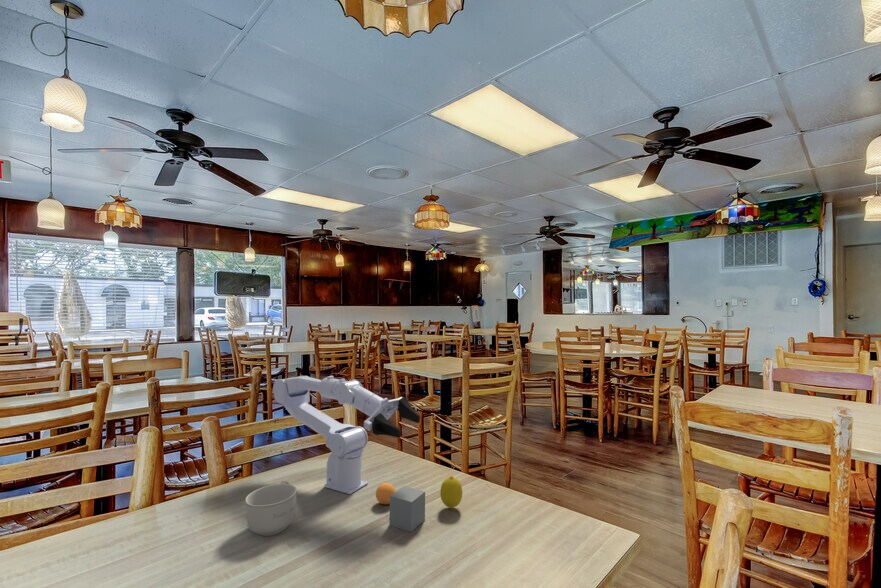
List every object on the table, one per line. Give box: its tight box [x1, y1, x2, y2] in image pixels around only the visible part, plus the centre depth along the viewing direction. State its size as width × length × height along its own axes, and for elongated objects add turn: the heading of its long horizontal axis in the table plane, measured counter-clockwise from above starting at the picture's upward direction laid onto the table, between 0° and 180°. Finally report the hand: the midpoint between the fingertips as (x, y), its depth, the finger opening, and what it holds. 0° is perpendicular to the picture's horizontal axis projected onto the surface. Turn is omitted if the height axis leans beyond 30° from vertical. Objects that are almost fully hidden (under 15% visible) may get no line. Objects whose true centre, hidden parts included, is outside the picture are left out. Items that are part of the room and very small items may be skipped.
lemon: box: [439, 475, 463, 510], centre depth 102 cm, size 6×6×8 cm
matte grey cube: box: [389, 485, 426, 532], centre depth 95 cm, size 6×6×7 cm
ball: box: [375, 482, 396, 505], centre depth 104 cm, size 5×5×5 cm
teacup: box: [244, 480, 298, 537], centre depth 94 cm, size 14×11×8 cm
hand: (409, 426), depth 104 cm, fingers open, 7 cm apart
